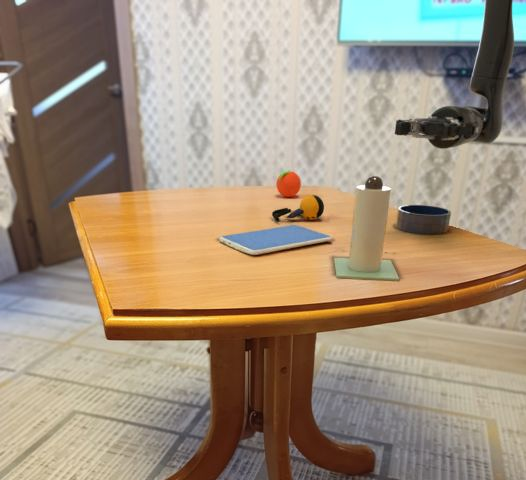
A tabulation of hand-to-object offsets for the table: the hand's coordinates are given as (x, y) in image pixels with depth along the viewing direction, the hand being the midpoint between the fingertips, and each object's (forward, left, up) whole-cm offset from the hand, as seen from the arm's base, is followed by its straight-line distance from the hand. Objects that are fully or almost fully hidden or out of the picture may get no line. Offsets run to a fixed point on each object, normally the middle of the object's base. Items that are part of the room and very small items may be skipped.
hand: (421, 130), depth 89 cm
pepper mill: (+9, +15, -21) cm, 27 cm away
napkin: (+9, +15, -21) cm, 28 cm away
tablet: (+25, 0, -21) cm, 33 cm away
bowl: (-6, -15, -21) cm, 26 cm away
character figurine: (+21, -21, -21) cm, 36 cm away
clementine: (+25, -49, -21) cm, 59 cm away
